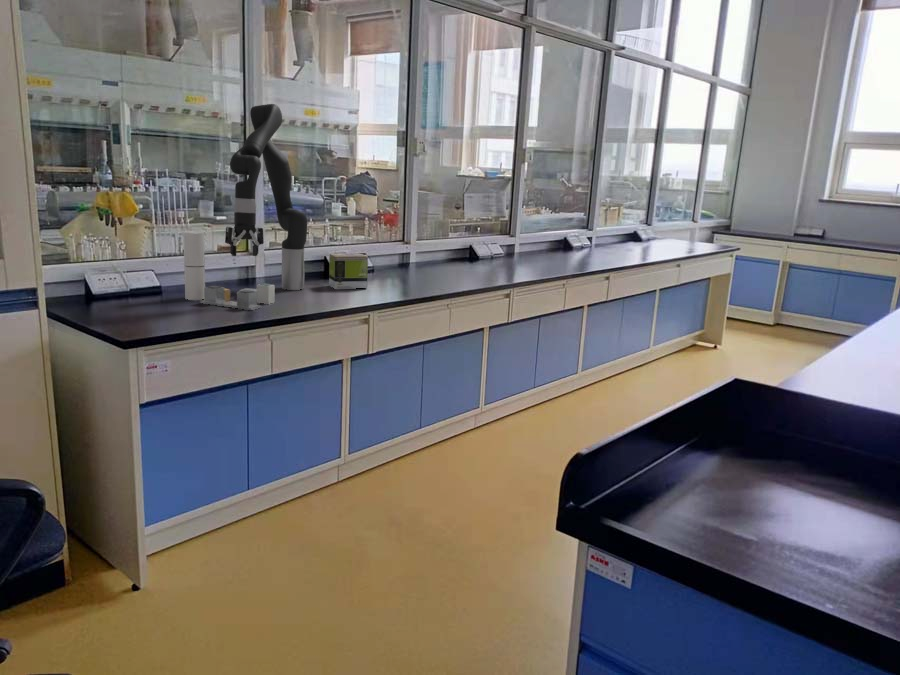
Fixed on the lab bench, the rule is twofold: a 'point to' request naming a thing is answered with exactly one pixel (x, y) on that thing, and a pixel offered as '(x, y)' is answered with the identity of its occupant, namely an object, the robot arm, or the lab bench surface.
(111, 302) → the lab bench surface
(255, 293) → the rail
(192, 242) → the cylindrical container
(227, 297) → the terminal block
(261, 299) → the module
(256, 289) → the supply block
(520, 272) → the lab bench surface
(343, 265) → the tea box
